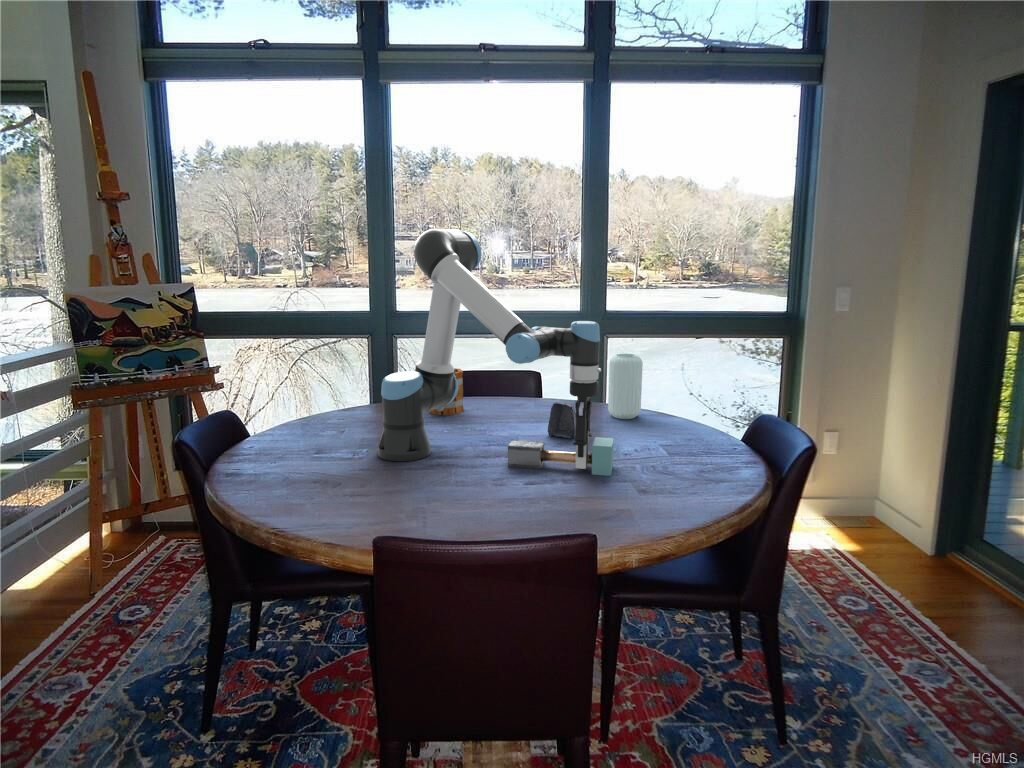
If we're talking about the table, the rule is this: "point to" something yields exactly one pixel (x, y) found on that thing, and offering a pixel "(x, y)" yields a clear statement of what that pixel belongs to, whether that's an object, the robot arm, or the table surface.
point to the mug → (457, 403)
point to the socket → (602, 456)
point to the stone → (562, 420)
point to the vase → (625, 386)
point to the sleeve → (525, 454)
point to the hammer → (566, 455)
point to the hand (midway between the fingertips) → (582, 463)
